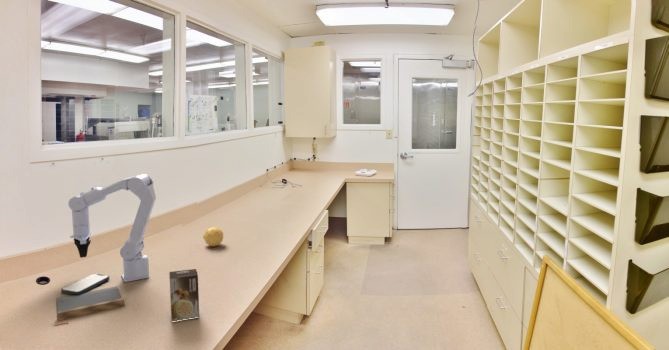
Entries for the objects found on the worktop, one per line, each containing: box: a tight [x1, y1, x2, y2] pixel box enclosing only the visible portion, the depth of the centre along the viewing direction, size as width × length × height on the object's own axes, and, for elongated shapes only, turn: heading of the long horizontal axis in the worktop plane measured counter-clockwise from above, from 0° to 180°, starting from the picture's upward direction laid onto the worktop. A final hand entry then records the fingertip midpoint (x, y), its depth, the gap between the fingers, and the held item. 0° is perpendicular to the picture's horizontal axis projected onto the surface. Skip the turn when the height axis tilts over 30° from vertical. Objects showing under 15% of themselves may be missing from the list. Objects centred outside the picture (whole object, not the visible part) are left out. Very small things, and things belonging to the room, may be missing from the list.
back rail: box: [57, 297, 126, 322], centre depth 140 cm, size 20×2×2 cm, turn 126°
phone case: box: [60, 273, 110, 295], centre depth 159 cm, size 9×2×16 cm
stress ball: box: [203, 226, 224, 248], centre depth 210 cm, size 10×10×10 cm
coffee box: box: [168, 268, 200, 322], centre depth 138 cm, size 9×6×16 cm
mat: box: [56, 286, 123, 312], centre depth 148 cm, size 20×18×1 cm
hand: (83, 255), depth 166 cm, fingers open, 3 cm apart
